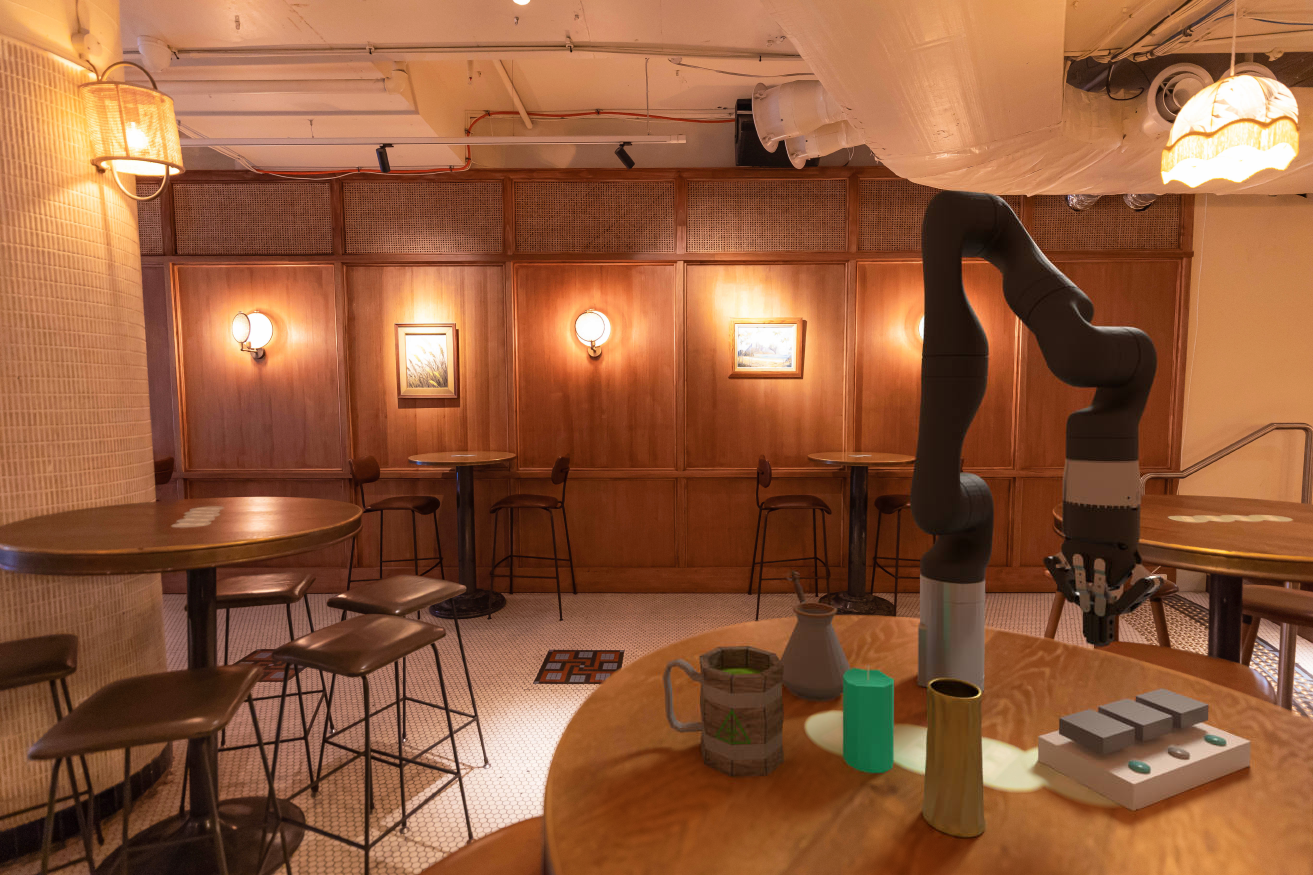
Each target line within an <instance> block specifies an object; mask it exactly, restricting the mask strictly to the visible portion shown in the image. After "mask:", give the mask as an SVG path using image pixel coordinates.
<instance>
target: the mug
mask: <svg viewBox="0 0 1313 875" xmlns="http://www.w3.org/2000/svg"><path fill="white" fill-rule="evenodd" d="M698 658H699V665H700V672H698V671H697V670H696V669H694V667H693V666H692V665H691V664H690V662H687V661H686V660H683V659H682V658H681V657H680V658H676V659H673V660H670V661H668V662H667V663H666V666H665V668H664V672H663V674H662V681H663V688H664V689H663V690H664V706H665V717H666V719H667V722H668V724H669V726H670V728H671V729H673V730H674V731H676V732H678V733H680V734H681V733H691V732H692V733H693V732H701V737H700V745H699V747H700V752H701V756H702V761H703V765H705V766H707V767H709V768H711V769H713V770H716V771H717V772H720V773H721V774H725V775H726V776H729V777H731V778H743V777H762V776H763V777H765V776H768V775H769V774H771V772H773V771H774V770H775V769H777V768H778V767H779V766H780V765H781V764H782V763H784V762H785V757H784V748H783V726H784V717H785V716H784V714H785V713H784V704H783V683H782V676H783V668H784V666H783V664H782V663H781V661H780V660H781V659H780V658H779V657H778V655H777V654H776V653H775V652H773V651H768V650H765V649H760V648H757V647H754V646H751V645H740V646H739V645H738V646H737V645H735V646H732V645H731V646H717V647H714V648H713V649H711V650H709V651H706V652H705V653H702V654H700V655H699V656H698ZM675 667H678V668H679V669H681V670H683V671H684V673H685V674H686V675H687V676H688V677H689V678H690V680H692V681H694V682H698V683H700V692H699V693H700V694H699V696H700V697H699V707H700V708H699V709H700V717H701V721H694V722H693V721H692V722H687V723H682V722H680V721H678V720H677V718H676V715H675V713H674V703H673V700H674V699H673V696H674V695H673V686H672V680H671V679H672V678H671V672H672V668H675Z"/></svg>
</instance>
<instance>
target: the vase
mask: <svg viewBox="0 0 1313 875" xmlns="http://www.w3.org/2000/svg"><path fill="white" fill-rule="evenodd" d="M926 688H927V690H926V704H927V706H926V708H927V710H926V712H927V724H926V725H927V727H926V738H925V739H926V740H925V741H926V743H925V744H926V746H925V749H926V750H925V752H926V753H925V766H924V782H923V802H922V806H921V808H922V809H921V811H922V816H923V818H924V820H925V821H926V822H927V823H928V824H929V825H930V826H931V827H933V828H934V829H936V830H938V831H939V832H941V833H944V834H946V835H949V836H954V837H959V838H973V837H977V836H979V835H982V833H983V832H984V831H985V829H986V819H985V815H984V814H985V813H984V812H985V811H984V810H985V809H984V806H985V805H984V774H983V773H984V772H983V771H984V770H983V769H984V768H983V765H984V764H983V762H984V760H983V736H982V735H983V734H982V732H983V731H982V730H983V729H982V721H983V716H982V715H983V714H982V700H983V692H981V690H980V688H979V687H977V686H976V685H974V684H972V683H970V682H967V681H964V680H960V679H955V678H935V679H932V680H930V681H929V682H928V684H927V687H926Z"/></svg>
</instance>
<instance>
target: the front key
mask: <svg viewBox="0 0 1313 875" xmlns="http://www.w3.org/2000/svg"><path fill="white" fill-rule="evenodd" d="M1058 719H1059V720H1058V730H1059V734H1060V735H1062V736H1064V737H1066V738H1068V739H1070V740H1072V741H1075V742H1077V743H1079V744H1081V745H1083V746H1085V747H1087V748H1089V749H1091V750H1093V751H1095V752H1097V753H1099V754H1101V755H1105V754H1108V753H1111V752H1114V751H1117V750H1120V749H1123V748H1126V747H1129V746H1132V745H1135V728H1134V727H1131V726H1129V725H1127V724H1124V723H1122V722H1119V721H1117V720H1115V719H1112V718H1110V717H1108V716H1105V715H1103V714H1101V713H1098V711H1096V710H1093V709H1092V708H1088V709H1085V710H1082V711H1079V712H1074V713H1071V714H1068V715H1064V716H1061V717H1059V718H1058Z"/></svg>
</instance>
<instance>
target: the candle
mask: <svg viewBox="0 0 1313 875" xmlns="http://www.w3.org/2000/svg"><path fill="white" fill-rule="evenodd" d="M894 698H895V678H893V677H890V676H889V675H887V674H885V673H883V672H882V671H880V670H879V669H870V665H869V664H867V669H865V668H864V669H863V668H858V667H857V668H856V667H852V668H851V669H850V670H847V671H845V673H844V676H843V693H842V758H843V760H844V761H845V764H847V765H848V766H849V767H852V768H853V769H855V770H857V771H860V772H864V773H869V774H881V773H882V774H883V773H886V772H888V771H890V770H892V769H893V766H894V753H895V752H894V746H895V745H894V736H895V735H894V734H895V732H894V729H895V728H894V726H895V720H894V719H895V716H894V714H895V711H894V708H895V704H894V703H895V699H894Z"/></svg>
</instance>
